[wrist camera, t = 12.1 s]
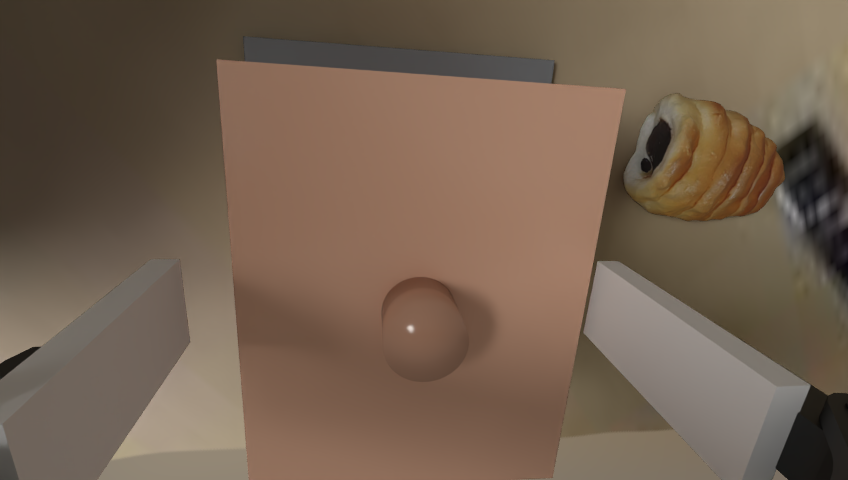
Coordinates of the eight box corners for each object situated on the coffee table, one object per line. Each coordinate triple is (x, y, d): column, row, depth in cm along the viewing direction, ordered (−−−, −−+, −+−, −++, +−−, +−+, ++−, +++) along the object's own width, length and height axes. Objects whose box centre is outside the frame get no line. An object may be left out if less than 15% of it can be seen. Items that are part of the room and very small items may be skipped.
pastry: (779, 132, 27) (842, 137, 23) (729, 232, 29) (780, 252, 25) (650, 88, 25) (696, 86, 21) (605, 198, 27) (641, 214, 23)
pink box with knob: (301, 329, 26) (232, 548, 13) (294, 81, 22) (183, 49, 9) (480, 328, 28) (575, 526, 15) (506, 95, 23) (672, 87, 10)
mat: (265, 351, 27) (262, 356, 26) (246, 38, 22) (243, 36, 21) (511, 348, 29) (514, 353, 28) (550, 61, 24) (554, 60, 23)
